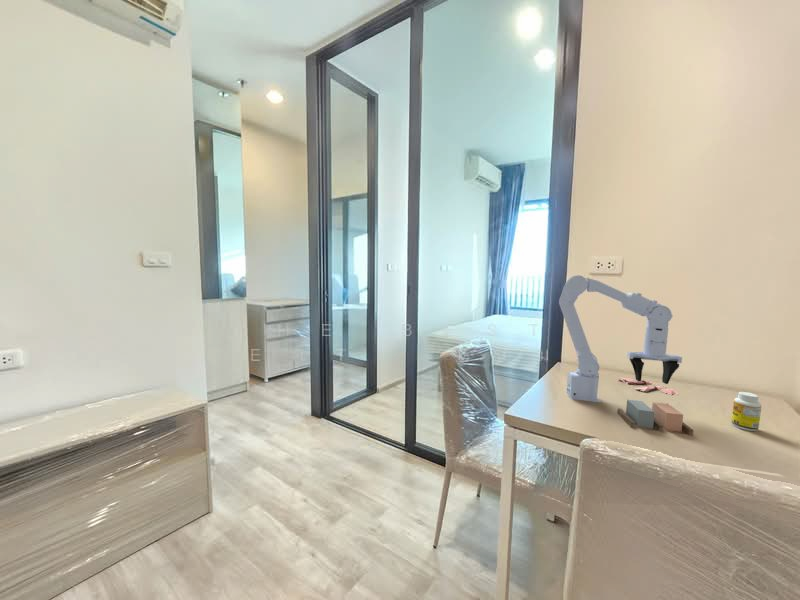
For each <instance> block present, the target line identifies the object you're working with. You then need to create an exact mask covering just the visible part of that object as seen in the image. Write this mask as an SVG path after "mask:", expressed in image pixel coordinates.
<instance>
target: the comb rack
mask: <svg viewBox="0 0 800 600" xmlns="http://www.w3.org/2000/svg"><path fill="white" fill-rule="evenodd" d="M616 413H617V414H618V416H619V417H620V418H621V419H622V420H623V421H624V423H626V424H627V425H628V426H629V427H630V428H633V429H639V430H641V429H642V430H648V431H656V432H665V433H673V434H679V435H680V434H681V435H687V436H694V429H693V428H691V427H690V426H689V425H687V424H686V423H685V422H683V423H682V432H679V431H671V430H665V429H664V428H663V427H664V426H663V425H662V424H660V423H659V422H658V421H657V420H656V419H655V418H654V425H653V429H652V428H644V427H637V426H636V425H635V422H634V421H633V420H632V419H631V418H630V417H629V416H628V415H627V414H626V411H624V410H623V408H617V411H616Z"/></svg>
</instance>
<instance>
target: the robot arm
mask: <svg viewBox="0 0 800 600" xmlns="http://www.w3.org/2000/svg"><path fill="white" fill-rule="evenodd" d="M561 291H562V292H561V294H560V297H559V299H558V300H559V301H558V304H559V307H560V310H561V312H562V316H563V318H564V322H565V324H566V327H567V330H568V332H569V335H570V338H571V341H572V344H573V346H574V349H575V352H576V355H577V356H576V357H577V363H578V364H577V367H578V368H577V369H575V371H573V372H572V371H570V372H568V374H567V381H566V391H565V393H566V394H567V395H568V396H569V398H570V399H571V400H577V401H586V402H593V403H602V400H600V399H599V398H598V390H599V379H600V374H599V370H600V364H599V362H598V359H597V357H596V355H595V354H593V352H592V350H591V347H590V345H589V342H588V339H587V337H586V334H585V332H584V329H583V328H584V327H583V325H582V323H581V321H580V317H579V314H578V312H577V308H576V306H575V303H576V301H577V299H578V298H579V296H581V295H582V294H583V293H584V292H586V291H587V292H588V293H593V292H594V293H596V292H597V293H599V294H601V295H604V296H607V297H609V298H611V299H613V300H616V301H618V302H620V304H621V306H622V308H624V309H626V310H628V311H631V312H632V313H635V314H636V315H639V316H641V317H646V326H645V331H644V332H645V333H644V345H643V351H627V356H626V357H627V358H628V359H629V361H630V363H631V366H632V369H633V371H634V376H635V380H637V381H641V380H642V373H643V369H644V365H645V361H643V360H646V361H648V360H649V361H659V362H661V363H662V377H661V380H662V383H663V384H665V385H668V384H669V382H670V380H671V378H672V376H673V375H674V373H675V372H676V371H677V370H678V369H679V367H680V364H682V363H683V357H682V356H680V355H676V354H675V355H674V354H667V345H668V334H669V322H670V321H671V320H672V318H673V314H672V310H671V309H670V308H669V307H668V306H666V305H663V304H661V303H658V301H657V300H655V299H653V300H652V299H650V298H646V297H644V296H642V295H643V294H642V293H640V292H638V291H637V292H636V293H635V292H633V291H632V292H629V293H625V292H623V291H621V290H618V289H617V288H614V287H612V286H610V285H608V284H606V283H604V282H601V281H599V280H596V279H593V278H588V277H585V276H583V275H576V274H575V275H573V276H570V277H569V278H568V280H567V281H566V282H565V284H564V285H563V288H562V290H561Z"/></svg>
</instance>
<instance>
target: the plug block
mask: <svg viewBox="0 0 800 600" xmlns="http://www.w3.org/2000/svg"><path fill="white" fill-rule="evenodd" d="M651 406H652V407H651V409H652V410H653V411H654V412H655V415H654V418H655V419H656V420H657V421H658V422H659V423H660V424H662V425H663V426H664V427H663V428H664V429H665V430H671V431H679V432H682V423H684V414H683V413H682V412H680V411H679V410H678V409H676V408H675V407H673V406H672V405H670V404H669V403H665V402H656V401H654V402H653V401H652V405H651Z"/></svg>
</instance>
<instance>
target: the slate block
mask: <svg viewBox="0 0 800 600" xmlns="http://www.w3.org/2000/svg"><path fill="white" fill-rule="evenodd" d="M625 413H626V414H627V415H628V416H629V417H630V418H631V419H632V420H633V421H634V422H635V425H636V426H637V427H644V428H652V429H653V425H654V415H655V412H654V411H653V410H652V407H649V405H647V404H646V403H645V401H642V400H634V399H626V409H625Z"/></svg>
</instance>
